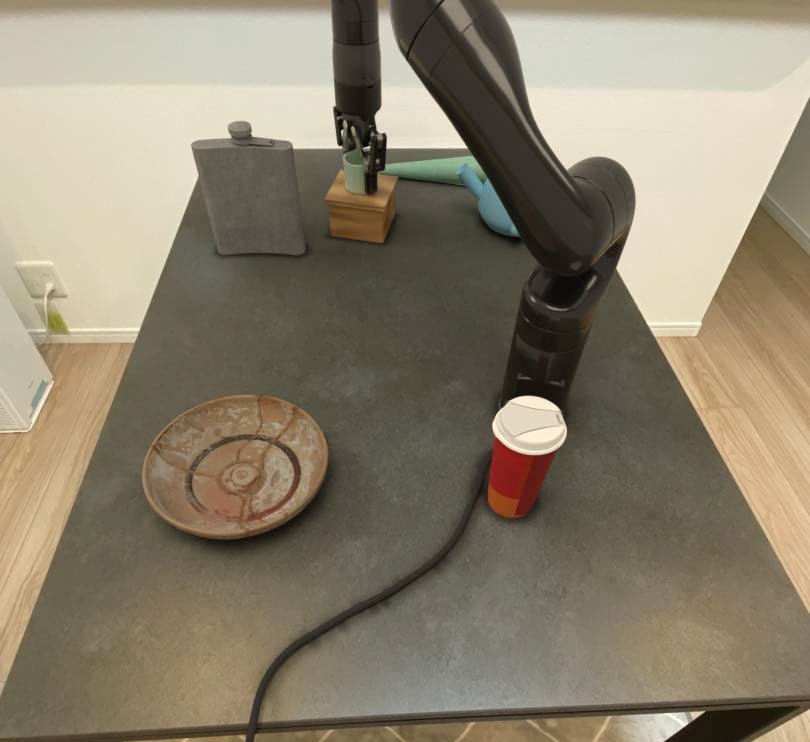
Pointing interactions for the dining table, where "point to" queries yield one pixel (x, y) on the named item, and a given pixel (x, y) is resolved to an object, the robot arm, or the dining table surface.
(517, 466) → the coffee cup
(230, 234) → the hip flask
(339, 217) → the riser
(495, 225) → the teapot
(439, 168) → the mint green cone
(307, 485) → the ceramic bowl
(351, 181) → the pale green cup
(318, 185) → the dining table surface
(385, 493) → the dining table surface
